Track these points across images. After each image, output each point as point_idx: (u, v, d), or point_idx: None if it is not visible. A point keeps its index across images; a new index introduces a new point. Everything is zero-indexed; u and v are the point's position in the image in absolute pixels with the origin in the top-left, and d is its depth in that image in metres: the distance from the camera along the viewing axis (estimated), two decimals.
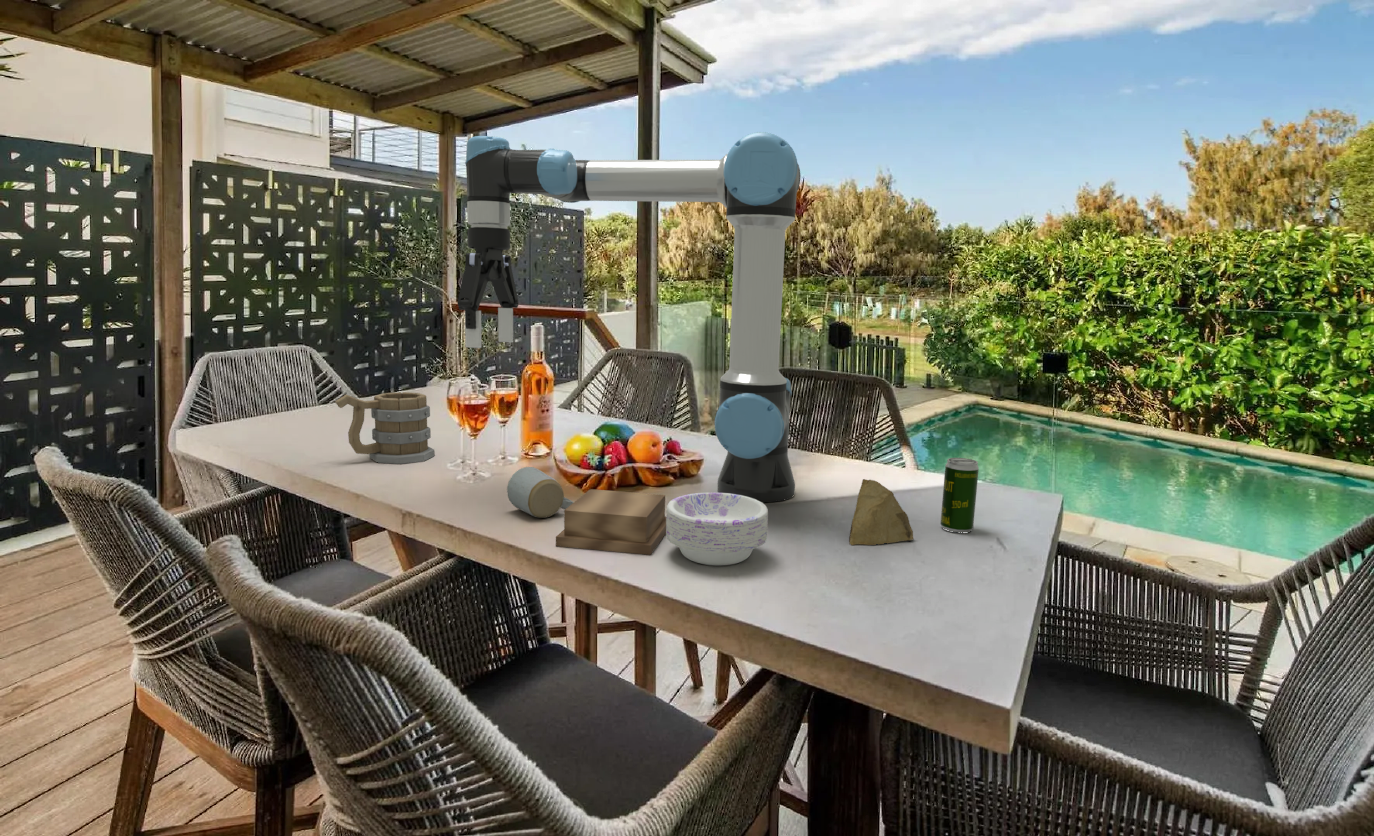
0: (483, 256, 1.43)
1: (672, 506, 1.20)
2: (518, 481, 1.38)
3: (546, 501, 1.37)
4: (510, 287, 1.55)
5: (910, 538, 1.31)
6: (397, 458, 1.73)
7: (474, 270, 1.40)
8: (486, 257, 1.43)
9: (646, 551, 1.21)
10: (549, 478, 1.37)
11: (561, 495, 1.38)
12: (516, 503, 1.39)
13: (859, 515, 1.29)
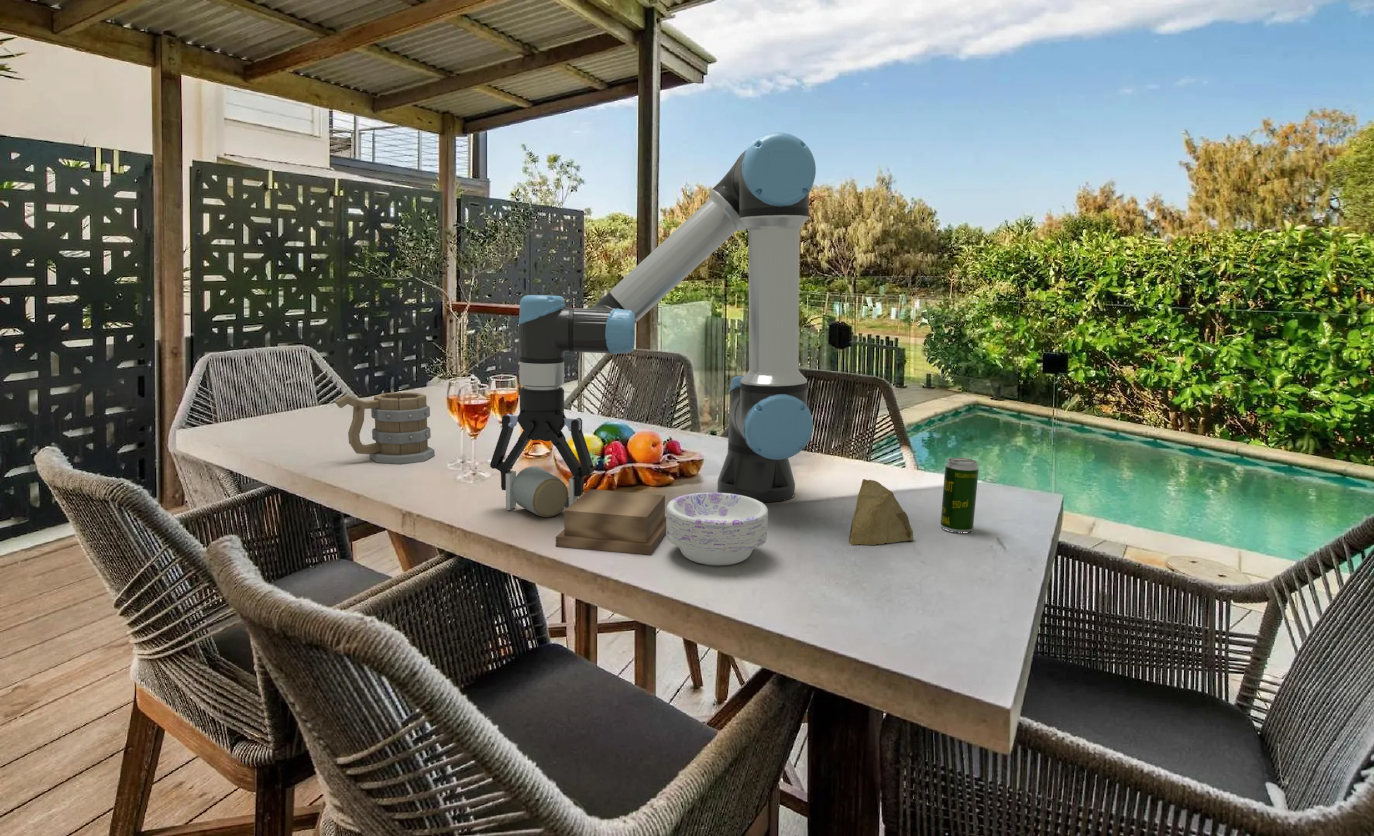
0: (518, 416, 1.39)
1: (672, 506, 1.20)
2: (523, 480, 1.39)
3: (550, 500, 1.37)
4: None
5: (910, 538, 1.31)
6: (397, 458, 1.73)
7: None
8: (520, 417, 1.38)
9: (646, 551, 1.21)
10: (554, 477, 1.38)
11: (566, 494, 1.39)
12: (521, 502, 1.39)
13: (859, 515, 1.29)
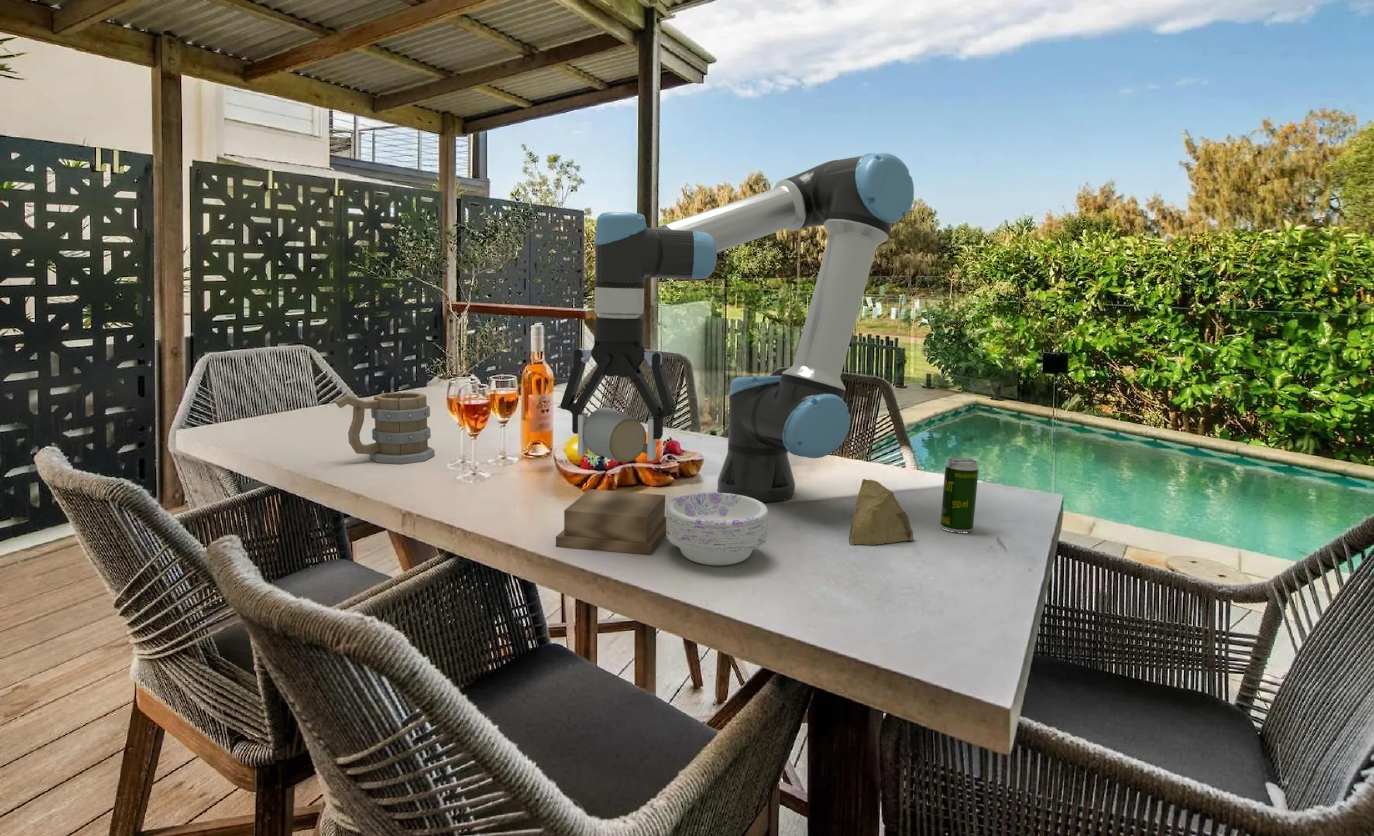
0: (591, 350, 1.25)
1: (671, 506, 1.20)
2: (596, 422, 1.25)
3: (628, 443, 1.23)
4: None
5: (910, 538, 1.31)
6: (397, 458, 1.73)
7: None
8: (594, 351, 1.24)
9: (646, 551, 1.21)
10: (631, 418, 1.24)
11: (644, 437, 1.25)
12: (594, 446, 1.25)
13: (859, 515, 1.29)
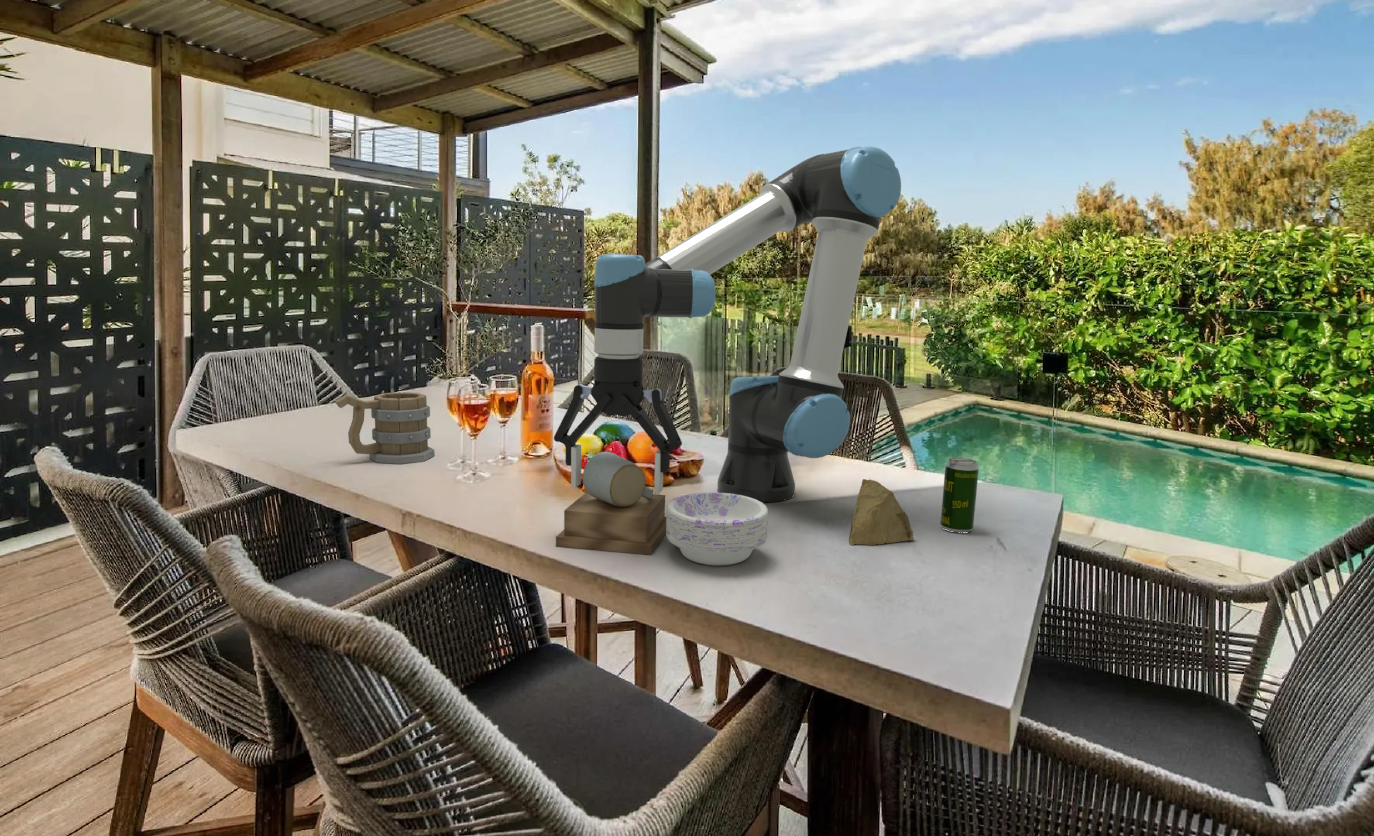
0: (592, 388, 1.26)
1: (672, 506, 1.20)
2: (596, 467, 1.26)
3: (628, 488, 1.25)
4: None
5: (910, 538, 1.31)
6: (397, 458, 1.73)
7: None
8: (595, 390, 1.25)
9: (646, 551, 1.21)
10: (631, 463, 1.25)
11: (643, 482, 1.26)
12: (594, 491, 1.27)
13: (859, 515, 1.29)
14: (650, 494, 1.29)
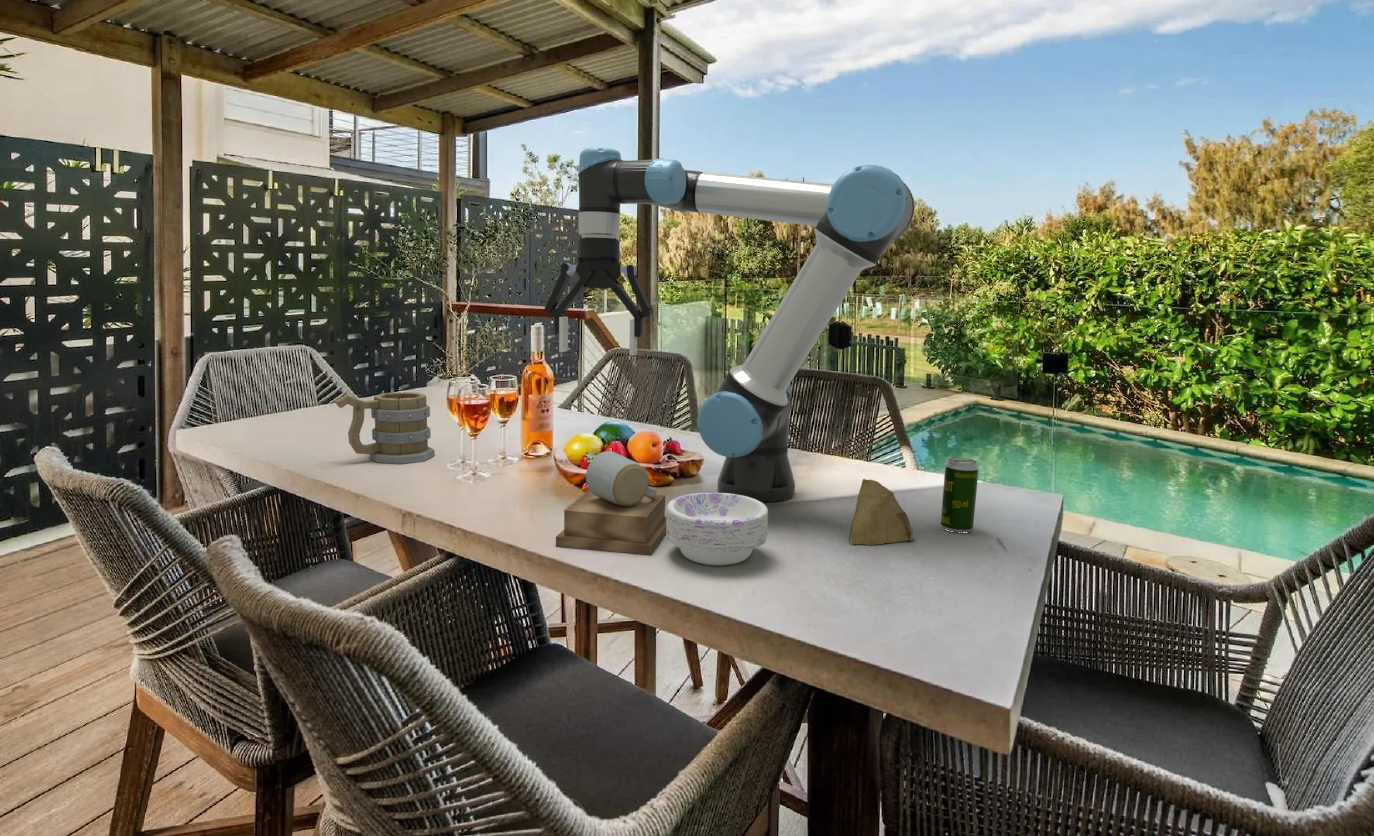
0: (576, 266, 1.49)
1: (672, 506, 1.20)
2: (599, 466, 1.27)
3: (631, 488, 1.25)
4: None
5: (910, 538, 1.31)
6: (397, 458, 1.73)
7: None
8: (579, 267, 1.48)
9: (646, 551, 1.21)
10: (634, 463, 1.26)
11: (646, 481, 1.27)
12: (597, 490, 1.27)
13: (859, 515, 1.29)
14: (653, 493, 1.30)
